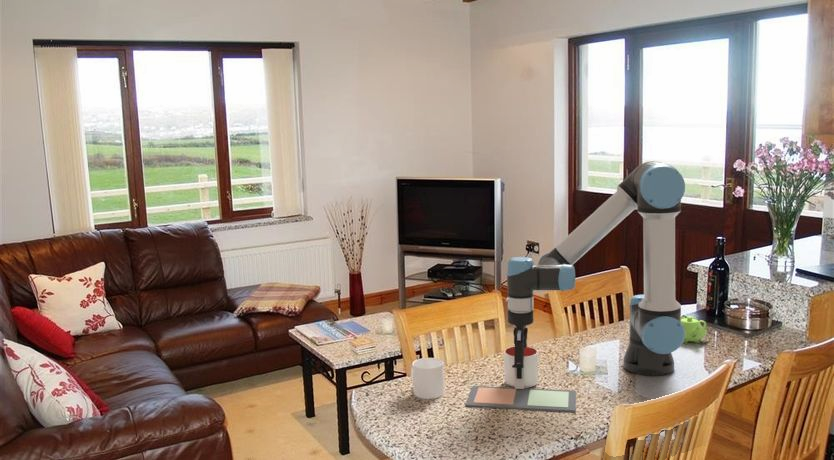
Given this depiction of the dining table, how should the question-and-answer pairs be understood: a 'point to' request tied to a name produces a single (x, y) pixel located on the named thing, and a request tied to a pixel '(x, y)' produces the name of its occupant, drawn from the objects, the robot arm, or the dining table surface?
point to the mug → (428, 378)
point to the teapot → (693, 329)
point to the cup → (529, 366)
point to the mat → (522, 398)
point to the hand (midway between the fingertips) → (521, 381)
